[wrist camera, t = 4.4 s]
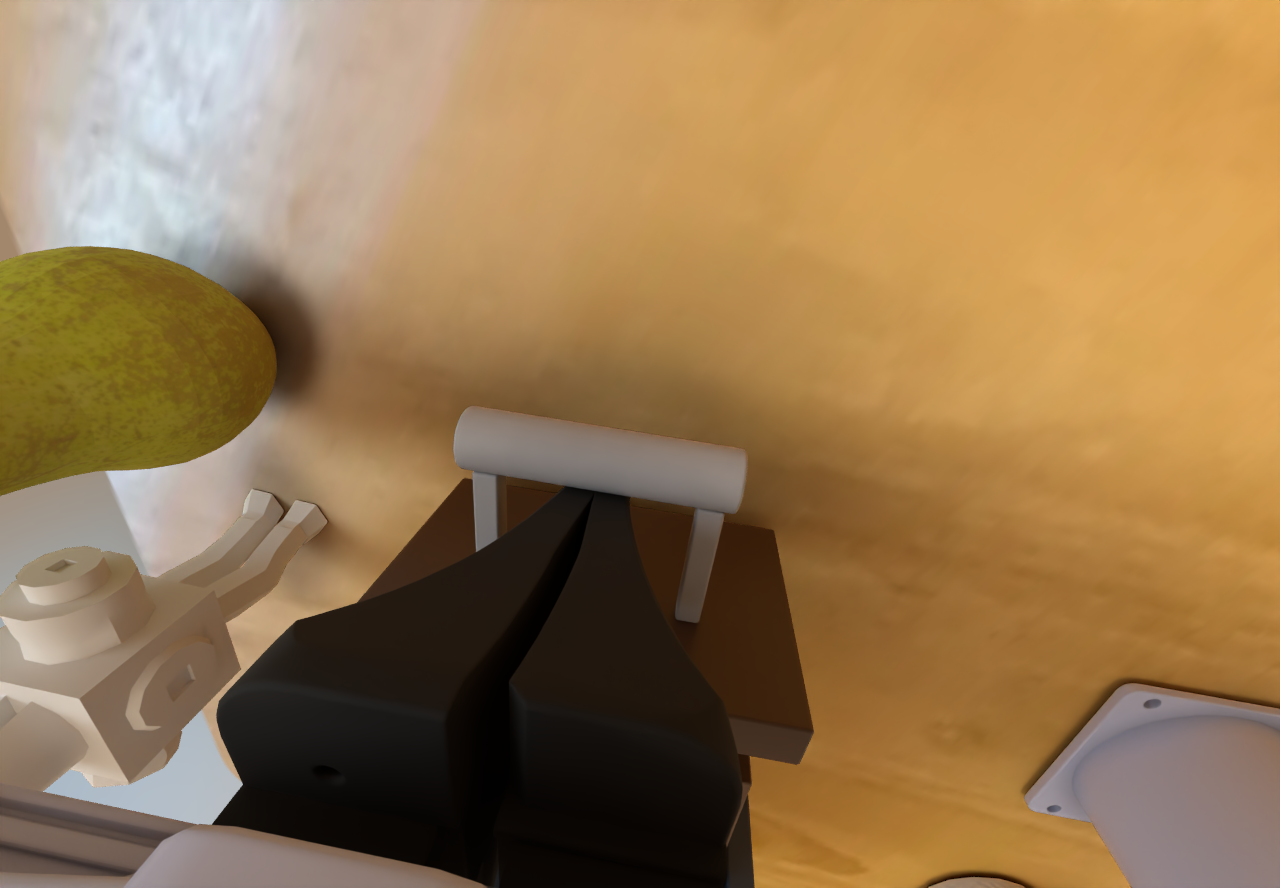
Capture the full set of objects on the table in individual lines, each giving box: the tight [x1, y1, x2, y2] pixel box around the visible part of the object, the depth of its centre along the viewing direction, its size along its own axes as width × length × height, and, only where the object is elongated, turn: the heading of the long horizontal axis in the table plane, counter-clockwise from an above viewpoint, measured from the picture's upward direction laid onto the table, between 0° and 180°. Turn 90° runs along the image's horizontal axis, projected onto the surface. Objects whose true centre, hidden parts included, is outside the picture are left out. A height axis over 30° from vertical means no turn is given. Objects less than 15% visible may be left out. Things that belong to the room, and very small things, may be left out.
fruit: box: [0, 246, 277, 496], centre depth 11 cm, size 6×6×12 cm
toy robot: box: [0, 489, 328, 792], centre depth 14 cm, size 4×8×12 cm, turn 171°
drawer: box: [357, 406, 814, 847], centre depth 14 cm, size 14×10×7 cm
